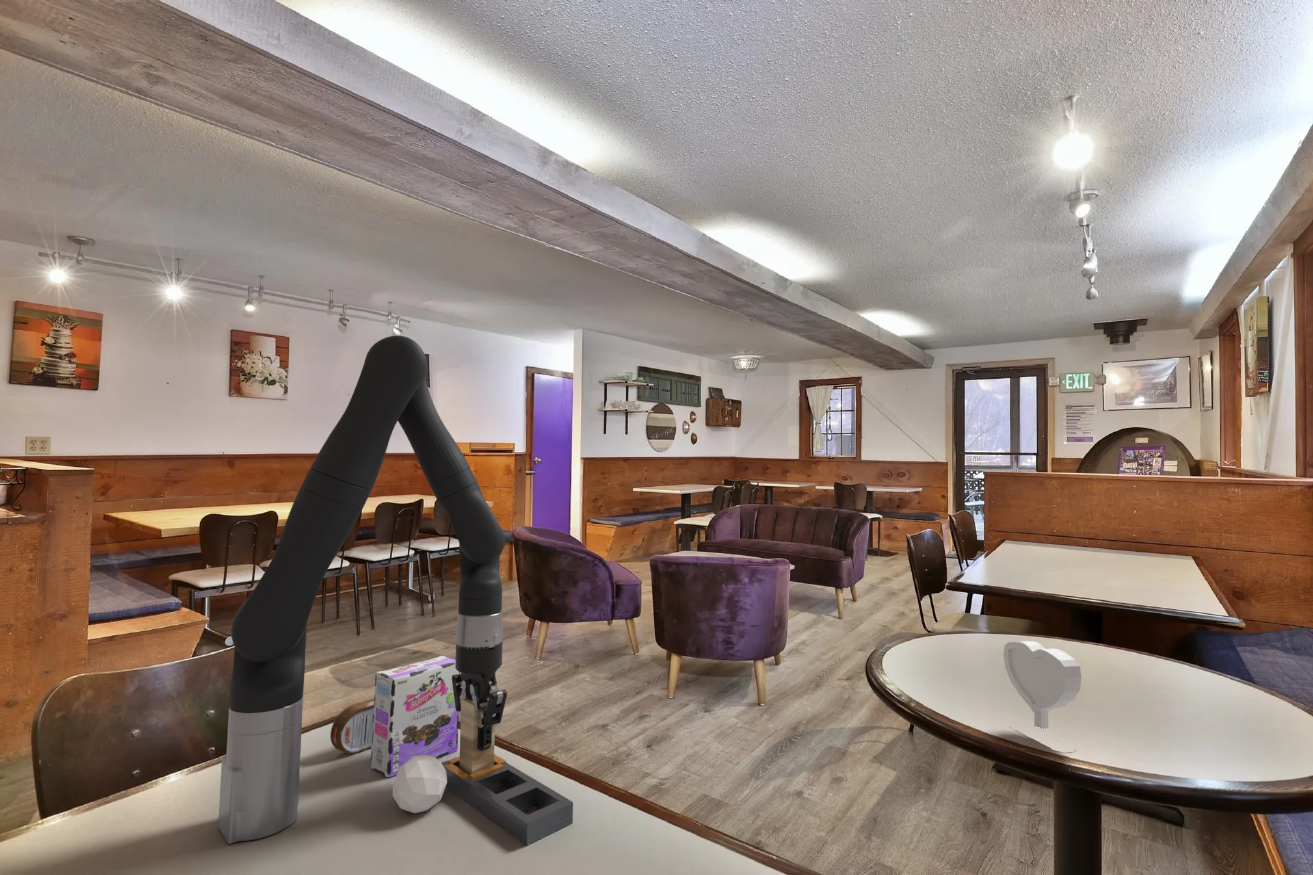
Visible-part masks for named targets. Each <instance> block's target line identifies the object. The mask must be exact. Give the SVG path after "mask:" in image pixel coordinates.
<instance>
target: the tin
mask: <svg viewBox="0 0 1313 875" xmlns="http://www.w3.org/2000/svg"><path fill="white" fill-rule="evenodd" d="M373 715H374V698H371V699H367V700H364V701H360V702H357V703H353V704H351V705H349V706H347V707H346V708H344V709H343V710H342V711H341V712H340V713H339V714H338V716H336V718H335V720H334V721H333V724H332V726H331V729H330V736H329V738H330V741H331V744H332V746H333V747H334V748H335V749H336V750H338V751H340V752H342V753H344V754H347V755H355V754H354V753H356V754H358V752H359V753H361V752H360V751H362V752H364V751H363V750H365V749H367V750H369V749H368V748H370V749H372V748H371V747H372V735H373ZM365 751H366V750H365Z"/></svg>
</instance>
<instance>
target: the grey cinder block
mask: <svg viewBox="0 0 1313 875" xmlns="http://www.w3.org/2000/svg"><path fill="white" fill-rule="evenodd" d="M459 762H460V756H457V757H454V758H451V759H449V760H445V761H442V762H441V764H442V765H443V766H444V768H445V770H446V772H447V784H446V787H445V789H448V790H449V791H450V792H452V793H453V794H455V795H456V796H457V797H458V798H460V799H461V800H463V801H464V802H465V803H467V804H468V805H469V806H471V807H473V808H474V809H475V810H476V811H478V812H480V813H481V815H483V816H485V817H487V819H489V820H490V821H492V822H493V823H494V824H496V825H497V826H499V827H500V828H501V829H502V830H504V831H506V832H507V833H508V834H510V835H511V836H512V837H513V838H516V839H517V840H518V841H519V840H520V842H521V843H522V842H523V843H524V844H523V843H522V844H523V845H525V846H526V845H528V844H530V845H531V843H532V842H534V843H536V842H537V840H538V841H540V840H541V838H542V839H544V838H546V837H548V836H549V835H552V834H553V833H555V832H558V831H560V830H561V829H564V828H566V827H568V826H570V825H571V824H573V823H574V822H573V821H574V818H573V817H574V816H573V815H574V801H572V800H571V799H569V798H567V797H566V796H563V795H562V794H560V793H559V792H557V791H555V790H553V789H552V788H551V787H548V786H547V785H545V784H544V783H542V782H540V781H538V780H537V779H535V778H534V777H532V776H530V775H528V774H526V773H524V772H523V771H521V770H520V769H518V768H517V767H515V766H514V765H513V766H512V765H511V764H510V763H508V762H507V760H505V759H503V758H502V757H500V756H498V755H496V754H495V753H494V766H492V767H489V768H486V769H484V770H481V771H478V772H475V773H473V774H469V773H467V772H466V771H464V770H462V769H461V768H459ZM536 808H537V809H538V810H536V811H534V812H531V813H530V814H526V813H527V812H529V811H531V809H532V810H533V809H536ZM559 829H560V830H559ZM547 835H548V836H547ZM545 836H546V837H545ZM535 841H536V842H535ZM532 844H533V843H532ZM528 846H529V845H528Z"/></svg>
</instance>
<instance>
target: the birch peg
mask: <svg viewBox="0 0 1313 875" xmlns="http://www.w3.org/2000/svg"><path fill="white" fill-rule="evenodd" d="M460 700H461V712H460V725H459V726H460V727H459V729H460V732H459V757H460V762H459V768H461V769H462V770H464V771H466V772H467V773H469V774H473V773H475V772H478V771H481V770H484V769H486V768H489V767H492V766H494V754H495V741H496V740H495V735H496V734H495V733H496V732H495V731H496V730H495V729H496V728H495V727H496V724H495V725H493V726H492V743H491V747H490V748H489V749H486V750H483V751H480V750H478V749H477V741H478V727H479V726H478V714H477V713H476V712H475V705H473V701H471V700H469V699H468V698H467V700H463V699H461V698H460ZM485 705H488V702H486V703H482V704H480V706H481V707H482V706H485ZM485 715H486V711H484V712H483V716H484V719H485ZM494 716H495V714H494Z"/></svg>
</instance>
